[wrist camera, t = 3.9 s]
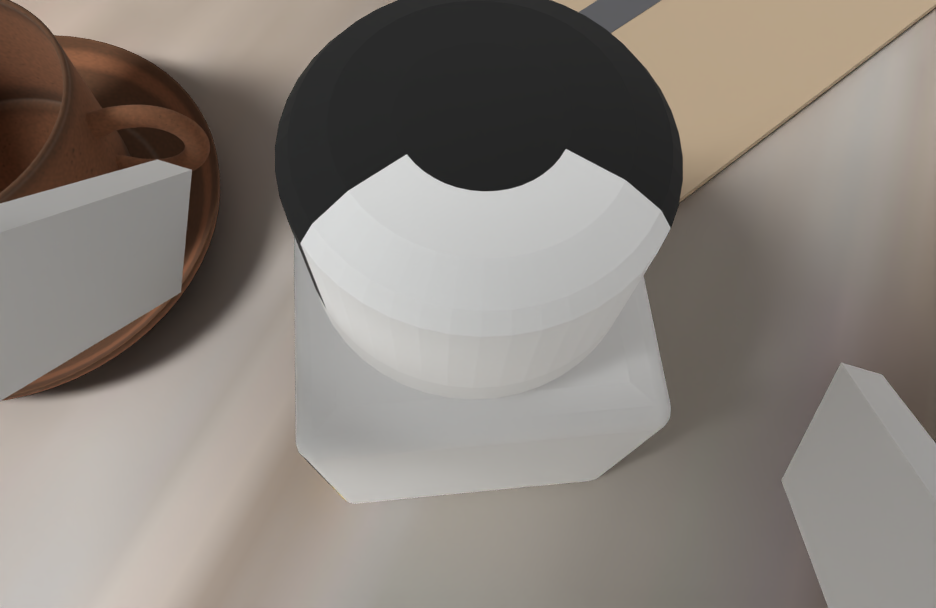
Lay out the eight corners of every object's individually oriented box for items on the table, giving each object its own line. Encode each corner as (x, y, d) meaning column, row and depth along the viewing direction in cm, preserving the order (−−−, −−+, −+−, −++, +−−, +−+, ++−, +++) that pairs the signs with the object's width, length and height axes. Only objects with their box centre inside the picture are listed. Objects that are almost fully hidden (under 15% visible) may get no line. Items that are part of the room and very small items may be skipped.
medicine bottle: (334, 268, 22) (228, -64, 11) (563, 251, 23) (680, -83, 12) (342, 506, 19) (212, 382, 8) (601, 481, 20) (801, 333, 9)
